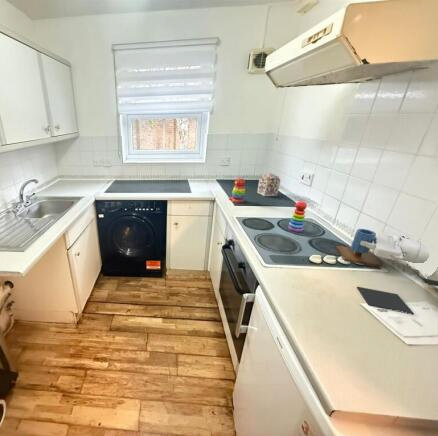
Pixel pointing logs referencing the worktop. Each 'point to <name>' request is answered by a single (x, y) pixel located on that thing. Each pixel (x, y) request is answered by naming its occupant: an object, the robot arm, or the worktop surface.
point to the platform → (357, 256)
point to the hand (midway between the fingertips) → (360, 239)
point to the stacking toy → (298, 217)
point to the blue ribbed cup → (365, 236)
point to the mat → (384, 300)
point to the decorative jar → (268, 185)
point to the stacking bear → (238, 191)
